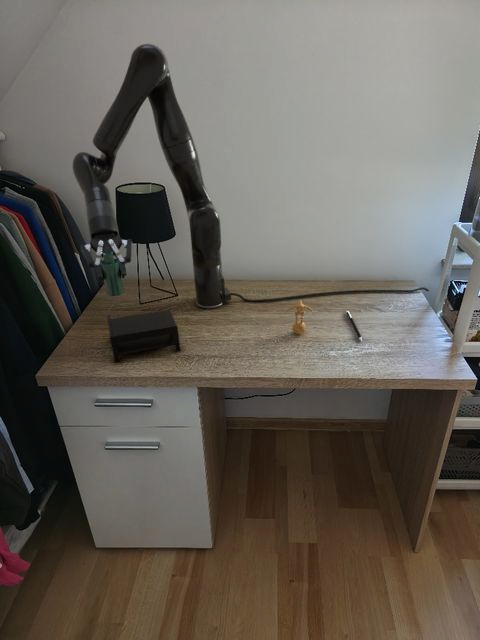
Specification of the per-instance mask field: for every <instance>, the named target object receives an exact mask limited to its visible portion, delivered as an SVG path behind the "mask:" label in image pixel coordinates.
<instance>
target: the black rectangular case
mask: <svg viewBox="0 0 480 640" xmlns="http://www.w3.org/2000/svg"><path fill="white" fill-rule="evenodd" d="M106 317H107V324H108V335H109V339H110V344H111V349H112V353H113V359H114V363H120V356H122V355H128V354H134V353H139V352H144V351H151V350H157V349H161V348H167V347H168V348H169V347H174V346H175V347H174V348H175V352H181V345H180V337H179V328H178V324H176V321H175V317H174V316H173V313H172V311H171V309H165V310H158V311H152V312H144V313H138V314H132V315H125V316H120V317H113V318H111V316H110V315H107V316H106Z"/></svg>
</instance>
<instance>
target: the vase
mask: <svg viewBox="0 0 480 640" xmlns="http://www.w3.org/2000/svg"><path fill="white" fill-rule="evenodd" d="M100 264H101V269H102V273H103V278H104V281H103V282H104V287H105V292H106V295H107V296H109V297H118V296H121V295H123V294H124V293H126V292H125V285H124V281H123V280H124V279H123V278H122V275H121V270H120V265H119V260H118V259H116V258H115V256H113V252H112V251H107V252H104V253H103V260H102V261H101V263H100Z"/></svg>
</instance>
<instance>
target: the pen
mask: <svg viewBox="0 0 480 640" xmlns="http://www.w3.org/2000/svg"><path fill="white" fill-rule="evenodd" d="M346 316H347V317H348V320H349V321H350V323H351V326H352V328H353V330H354V332H355V334H356V336H357V338H358V340H359V341H360V342H363V337H362V335H361V333H360V331H359V329H358V327H357V325H356V323H355V321H354V318H353V317H352V315H351V313H350V311H349V310H346Z"/></svg>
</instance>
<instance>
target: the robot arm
mask: <svg viewBox="0 0 480 640" xmlns="http://www.w3.org/2000/svg"><path fill="white" fill-rule="evenodd" d="M129 59H130V60H129V64H128V67H127V70H126V73H125V76H124V79H123V81H122V84H121V86H120V89H119V90H118V92H117V95H116V97H115V99H114V100H113V102H112V103H111V105H110V107H109V108H108V110H107V111H106V114H105V116H104V117H103V118H102V120H101V122H100V124H99V126H98V128H97V129H96V132H95V133H94V136H93V138H92V144H93V146H94V148H96V149H97V150H98V151H100V152H101V153H100V156H99V157H98V156H96V155H93V154H91V153H89V152H86V151H80V152H77V153H76V154H75V155H74V157H73V159H72V165H71V166H72V172H73V175H74V178H75V180H76V182H77V184H78V187H79V188H80V191H81V192H82V194H83V197H84V203H85V208H86V212H85V213H86V220H87V225H88V230H89V236H90V241H89V243H88V244H83V243H82V244H80V248H79V249H80V250H81V253H82V255H83V257H84V259H85V261H86V263H87V265H88V267H89V268H95V271H96V277H97V278H98V280H100V281H101V282H104V278H103V273H102V269H101V264H100V263H101V261H103V260H104V258H103V253H104V252H107V251H112V252H113V256H114V258H115V259H118V260H119V265H120V270H121V275H122V279H125V277H126V276H127V268H126V265H127V264H128V263H131V262H132V253H133V239H131V238H128V239H122V237H120V233H119V226H118V222H117V217H116V212H115V209H114V207H113V206H114V205H113V201H112V197H111V192H110V189H109V187H108V186H106V185H105V184H107V183H108V182H109V181H110V180H111V178H112V177H113V173H114V168H115V164H116V160H117V156H118V152H119V151H120V148H121V147H122V145H123V143H124V141H125V140H126V138H127V136H128V134H129V132H130V130H131V128H132V126H133V123H134V121H135V120H136V117H137V115H138V113H139V111H140V109H141V108H142V106H143V104H144V102H145V101H146V100H147V99H148V101H149V104H150V107H151V111H152V115H153V121H154V126H155V130H156V134H157V138H158V142H159V145H160V148H161V150H162V153H163V156H164V158H165V161H166V164H167V166H168V168H169V170H170V172H171V174H172V176H173V178H174V180H175V182H176V184H177V185H178V187H179V189H180V192H181V195H182V198H183V202H184V206H185V210H186V214H187V220H188V224H189V234H190V244H191V245H190V246H191V248H190V249H191V256H192V257H191V258H192V259H191V260H192V268H193V269H192V270H193V279H194V280H193V282H194V290H195V303H196V306H197V307H199V308H200V309H201V308H202V309H208V310H209V309H217V308H220V307H222V306H225V305H226V304H227V303H226V302H227V301H232V296H235V297H238V298H240V299H241V300H242V301H244V302H247V303H263V302H275V301H283V300H291V299H299V298H306V297H307V298H308V297H316V296H324V295H334V294H347V293H348V294H349V293H350V294H351V293H414V292H418V291H421V290H424V291H425V292H430V289H428V288H427V287H423V286H421V287H418V288H413V289H352V290H349V289H348V290H336V291H325V292H324V291H323V292H315V293H308V294H297V295H291V296H282V297H276V298H275V297H274V298H260V299H249V298H245V297H243V296H242V295H241V294H240V293H236V292H231V291H230V290H229V288H228V287H226V286H225V277H224V275H223V265H222V264H223V263H222V232H221V231H222V230H221V229H222V228H221V218H220V215H219V213H218V211H217V208H216V207H215V205H214V203H213V202H212V199H211V197H210V195H209V193H208V190H207V188H206V186H205V182H204V179H203V174H202V168H201V162H200V157H199V154H198V150H197V147H196V144H195V141H194V138H193V136H192V132H191V130H190V128H189V125H188V122H187V120H186V117H185V115H184V112H183V111H182V108H181V106H180V104H179V102H178V99H177V96H176V92H175V89H174V85H173V82H172V77H171V73H170V68H169V63H168V59H167V55H166V54H165V53H164V51H163V50H162V49H161V48H160V47H159V46H158V45H155V44H152V43H143V44H140V45H138V46H136V47H135V48H134V49H133V50H132V53H131V55H130V58H129ZM122 246H123V247H124V249H126V250H125V251H126V252H125V256H123V255H122V254H121V251H120V249H121V248H122ZM91 249H92V250H93V251H94V252H95V253H96V255H95V260H92V257H91V256H90V253H91Z"/></svg>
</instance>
